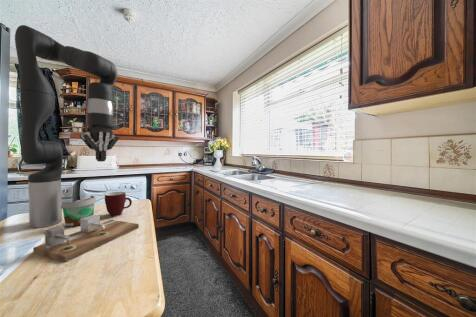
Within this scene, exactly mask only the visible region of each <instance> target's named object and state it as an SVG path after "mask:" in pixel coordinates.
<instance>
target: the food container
mask: <svg viewBox="0 0 476 317" xmlns="http://www.w3.org/2000/svg"><path fill="white" fill-rule="evenodd" d="M96 203H97V198H96V197H95V196H94V195H90V197H87V198H84V199H82V198H81V199H77V200H74V201H70V202H65V201H64V202H63V201H62V204H61V208H62V214H63V218H64V225H65V226H64V228H78V227H80V219H81V218H84V217H88V216H91V215H94V212H95V210H94V209H95V204H96Z"/></svg>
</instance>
